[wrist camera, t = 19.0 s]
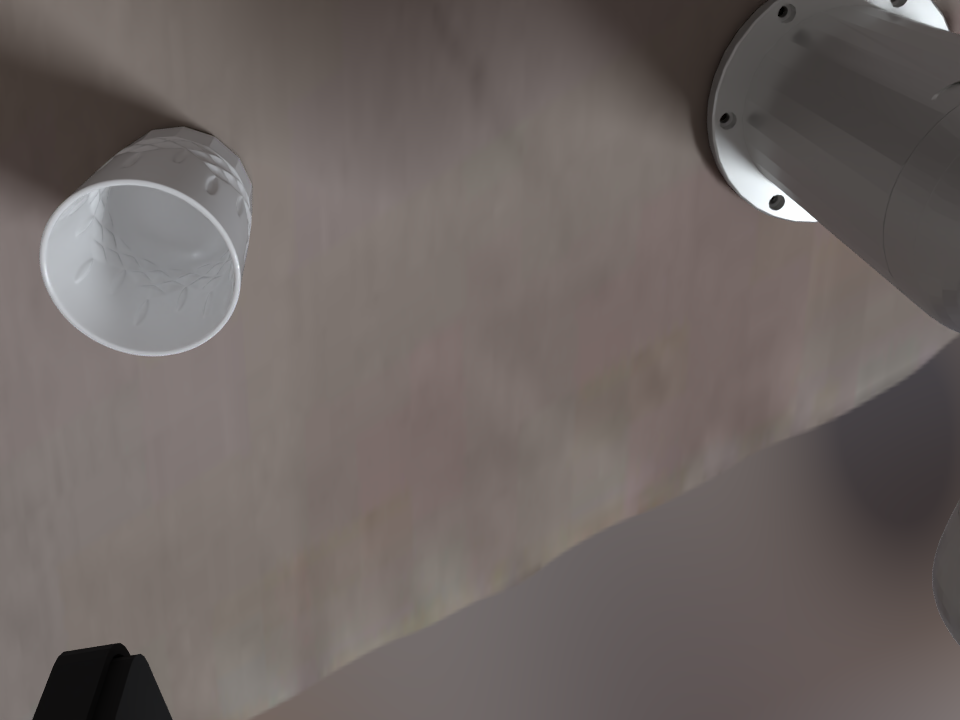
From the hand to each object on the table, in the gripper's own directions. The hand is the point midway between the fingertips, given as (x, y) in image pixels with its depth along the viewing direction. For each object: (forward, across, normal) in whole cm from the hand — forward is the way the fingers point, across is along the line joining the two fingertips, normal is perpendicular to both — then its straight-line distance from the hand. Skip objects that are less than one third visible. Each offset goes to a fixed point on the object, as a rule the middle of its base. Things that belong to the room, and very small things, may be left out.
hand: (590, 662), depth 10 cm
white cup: (+38, +13, +6) cm, 41 cm away
